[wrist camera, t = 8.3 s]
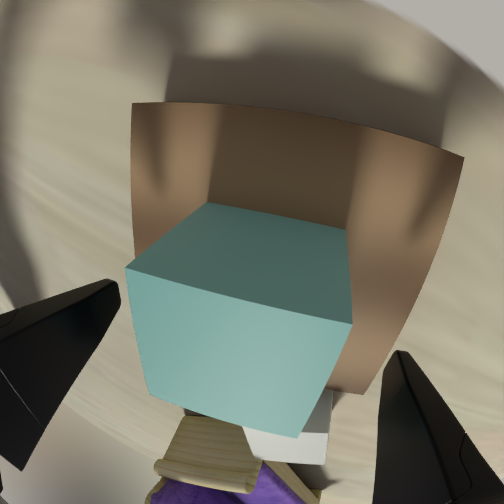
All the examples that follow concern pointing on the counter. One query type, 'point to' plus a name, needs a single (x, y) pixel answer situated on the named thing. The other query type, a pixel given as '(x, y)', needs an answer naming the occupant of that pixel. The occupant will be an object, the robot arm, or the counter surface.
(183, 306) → the teal block
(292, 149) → the base block
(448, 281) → the counter surface
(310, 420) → the grey cube
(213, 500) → the toy sofa
